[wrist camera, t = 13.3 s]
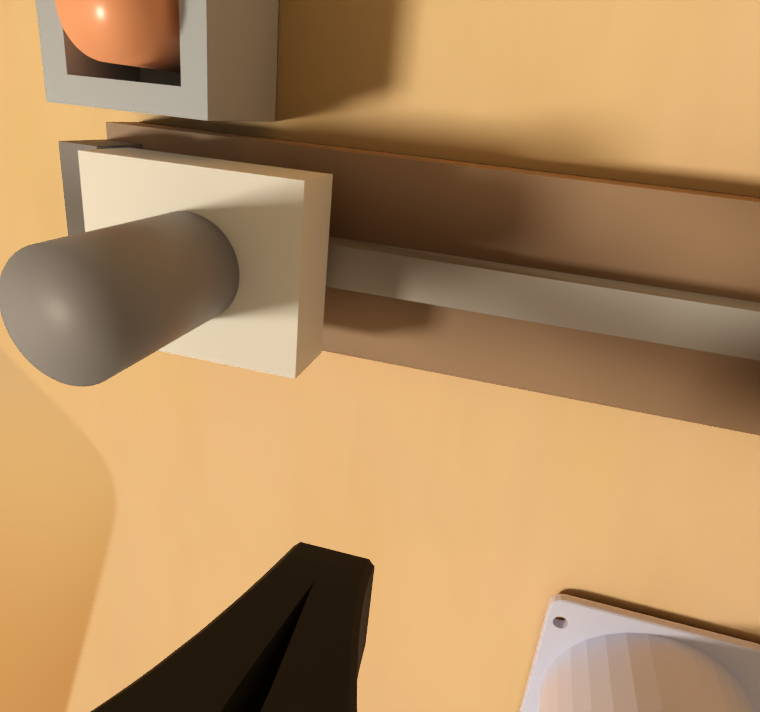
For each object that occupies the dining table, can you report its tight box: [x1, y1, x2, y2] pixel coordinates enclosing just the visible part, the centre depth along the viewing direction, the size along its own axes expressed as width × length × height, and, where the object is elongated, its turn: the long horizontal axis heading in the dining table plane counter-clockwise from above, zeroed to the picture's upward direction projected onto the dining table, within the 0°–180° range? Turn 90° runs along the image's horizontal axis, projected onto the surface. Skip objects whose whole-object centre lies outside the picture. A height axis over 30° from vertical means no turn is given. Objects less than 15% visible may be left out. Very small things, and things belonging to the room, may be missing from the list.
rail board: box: [59, 122, 760, 435], centre depth 17 cm, size 6×22×4 cm, turn 84°
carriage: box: [0, 147, 333, 386], centre depth 14 cm, size 5×6×6 cm
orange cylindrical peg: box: [55, 0, 181, 73], centre depth 15 cm, size 2×2×4 cm
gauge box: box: [36, 0, 279, 122], centre depth 16 cm, size 5×5×4 cm
